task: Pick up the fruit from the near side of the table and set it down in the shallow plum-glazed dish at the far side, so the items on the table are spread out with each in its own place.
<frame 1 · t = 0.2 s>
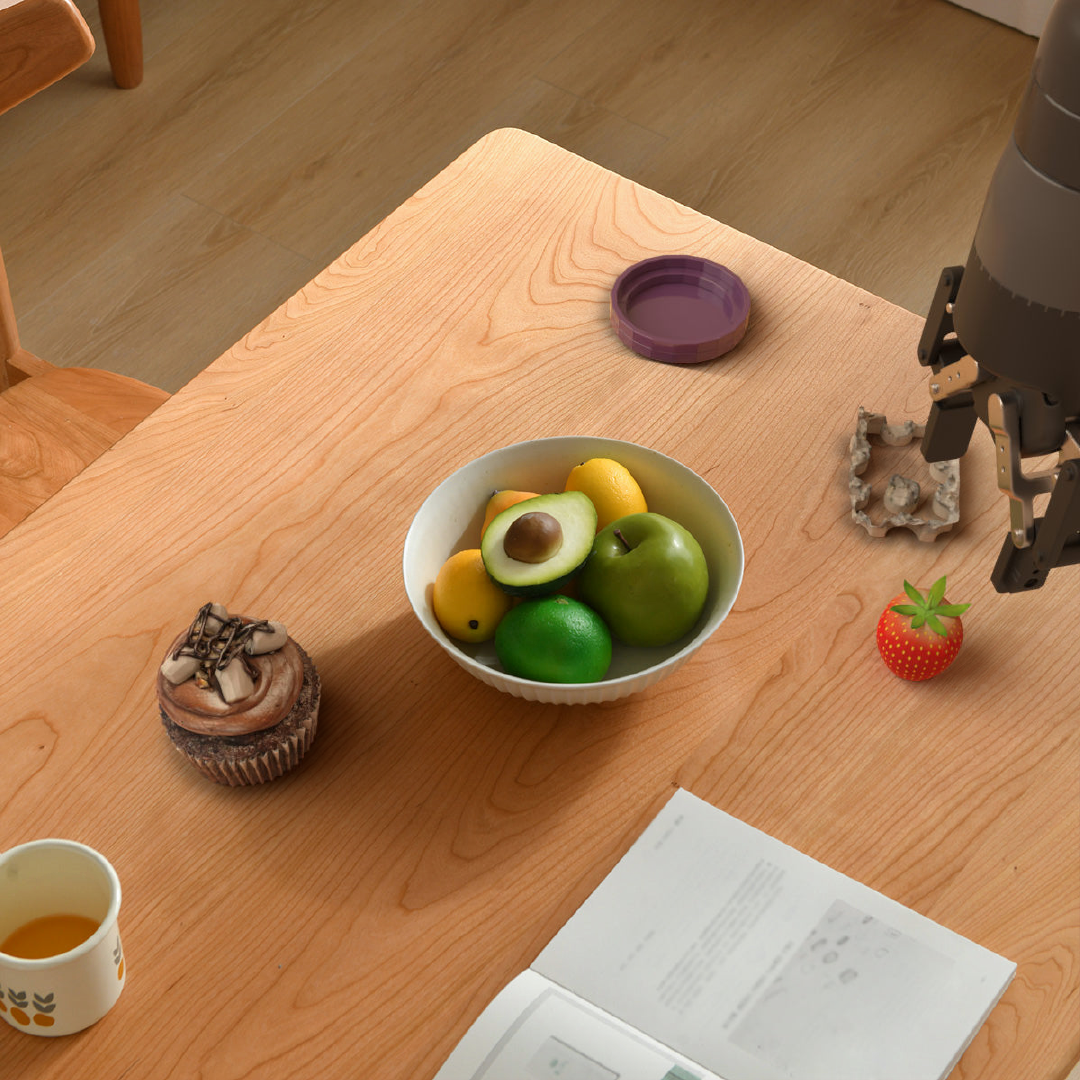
hand: (975, 517, 66), 23 cm above the table, tool pointing down, fingers open, 8 cm apart
fruit: (905, 673, 87), on the table
cupcake: (253, 740, 84), on the table
dish: (678, 322, 109), on the table
egg carton: (897, 499, 97), on the table
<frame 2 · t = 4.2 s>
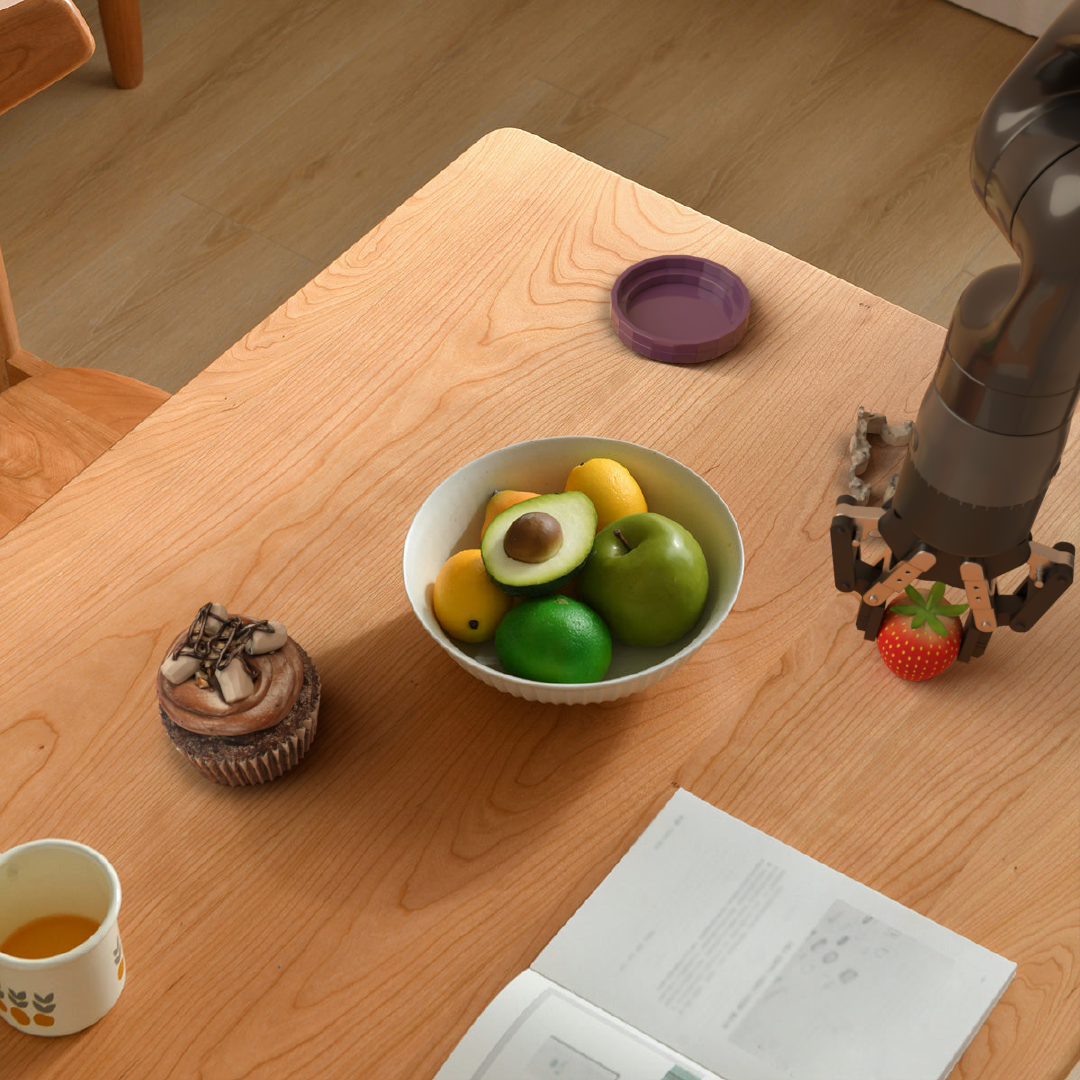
hand: (916, 639, 85), 3 cm above the table, tool pointing down, fingers closed on fruit, 5 cm apart
fruit: (905, 673, 87), on the table, touching gripper
everything else where it was.
when the fingers open (4 cm above the table, at t = 12.6 s): fruit stays where it is, resting on dish.
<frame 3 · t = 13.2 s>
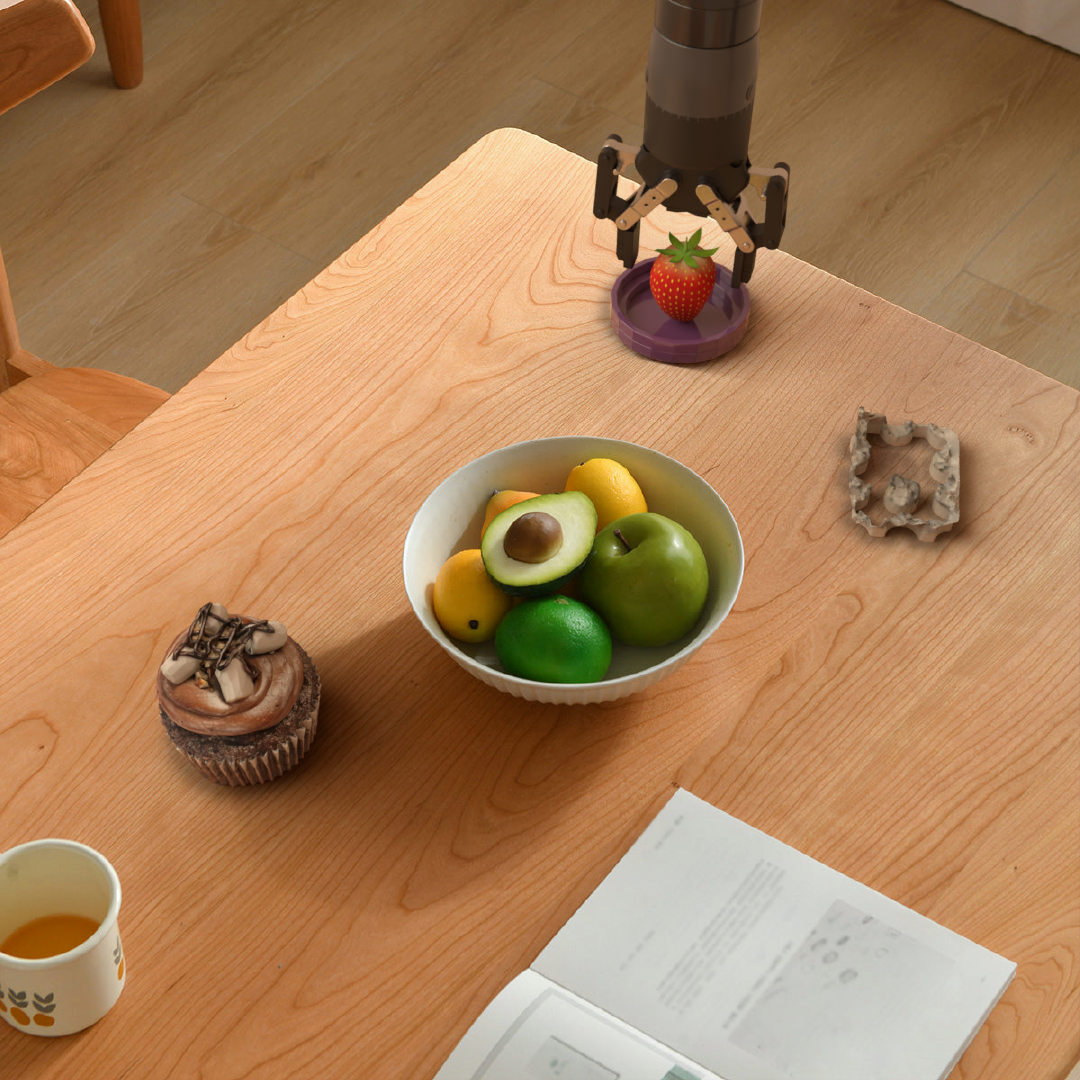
hand: (683, 272, 106), 5 cm above the table, tool pointing down, fingers open, 8 cm apart
fruit: (678, 320, 109), resting on dish
everything else where it was.
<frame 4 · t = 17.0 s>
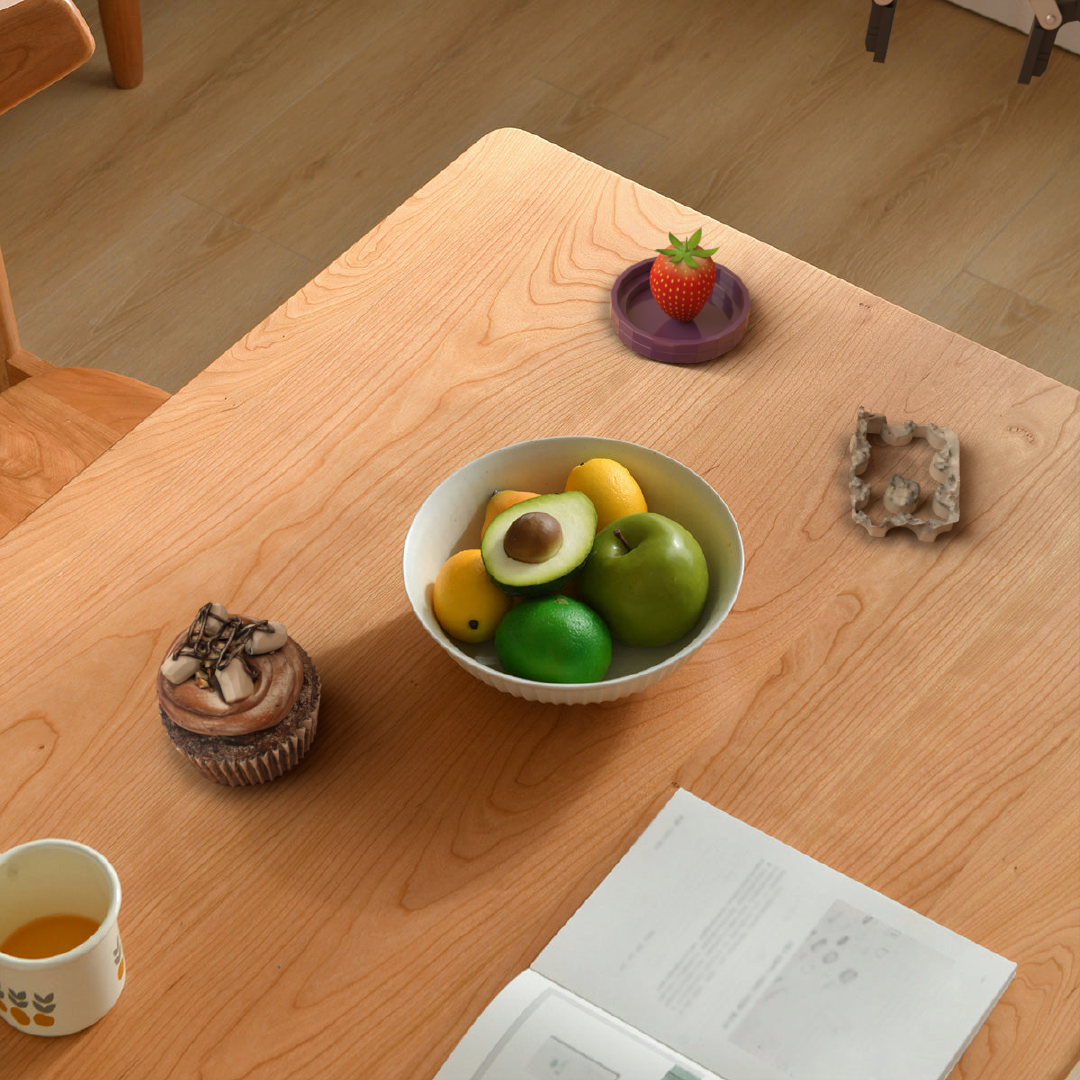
hand: (950, 67, 82), 28 cm above the table, tool pointing down, fingers open, 8 cm apart
nothing on the table moved.
at the end: fruit 0.1 cm off-centre in the dish, point 0.4 cm above the dish's base; the gripper is holding nothing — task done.
